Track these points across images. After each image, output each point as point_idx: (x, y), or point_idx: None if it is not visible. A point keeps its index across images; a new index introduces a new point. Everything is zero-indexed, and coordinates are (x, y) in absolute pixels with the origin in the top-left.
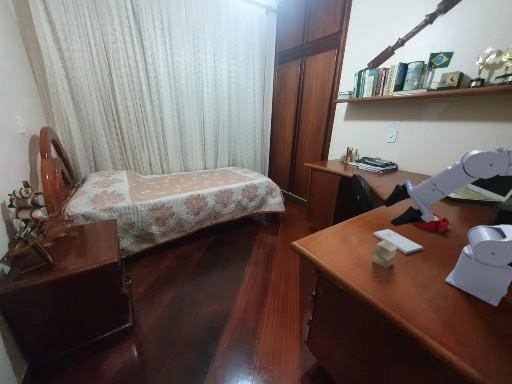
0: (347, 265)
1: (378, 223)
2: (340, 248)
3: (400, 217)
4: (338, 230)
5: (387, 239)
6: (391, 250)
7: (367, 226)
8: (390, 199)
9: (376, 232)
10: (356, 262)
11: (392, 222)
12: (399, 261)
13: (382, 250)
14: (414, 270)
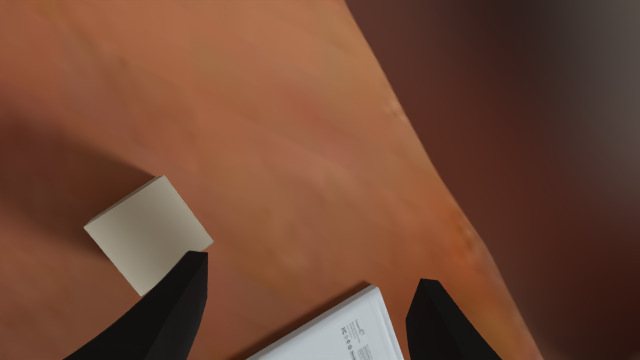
0: (112, 30)
1: None
2: (251, 66)
3: (142, 313)
4: (394, 129)
5: (322, 330)
6: (93, 232)
7: None
8: (445, 345)
9: (378, 302)
10: (139, 89)
11: (182, 258)
12: None
13: (128, 197)
14: None
